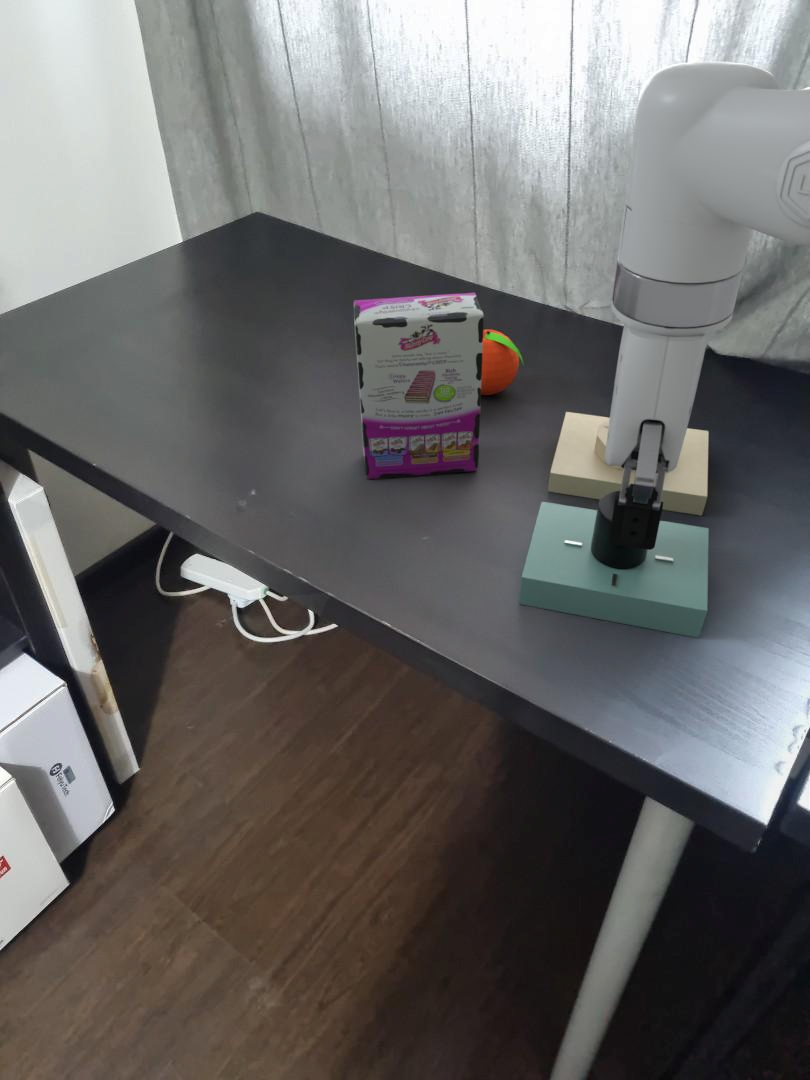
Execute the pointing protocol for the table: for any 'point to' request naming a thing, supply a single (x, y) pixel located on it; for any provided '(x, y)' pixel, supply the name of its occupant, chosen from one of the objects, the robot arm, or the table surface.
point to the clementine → (498, 362)
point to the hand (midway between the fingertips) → (636, 504)
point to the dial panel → (617, 574)
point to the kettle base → (592, 477)
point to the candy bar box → (419, 383)
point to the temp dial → (600, 540)
